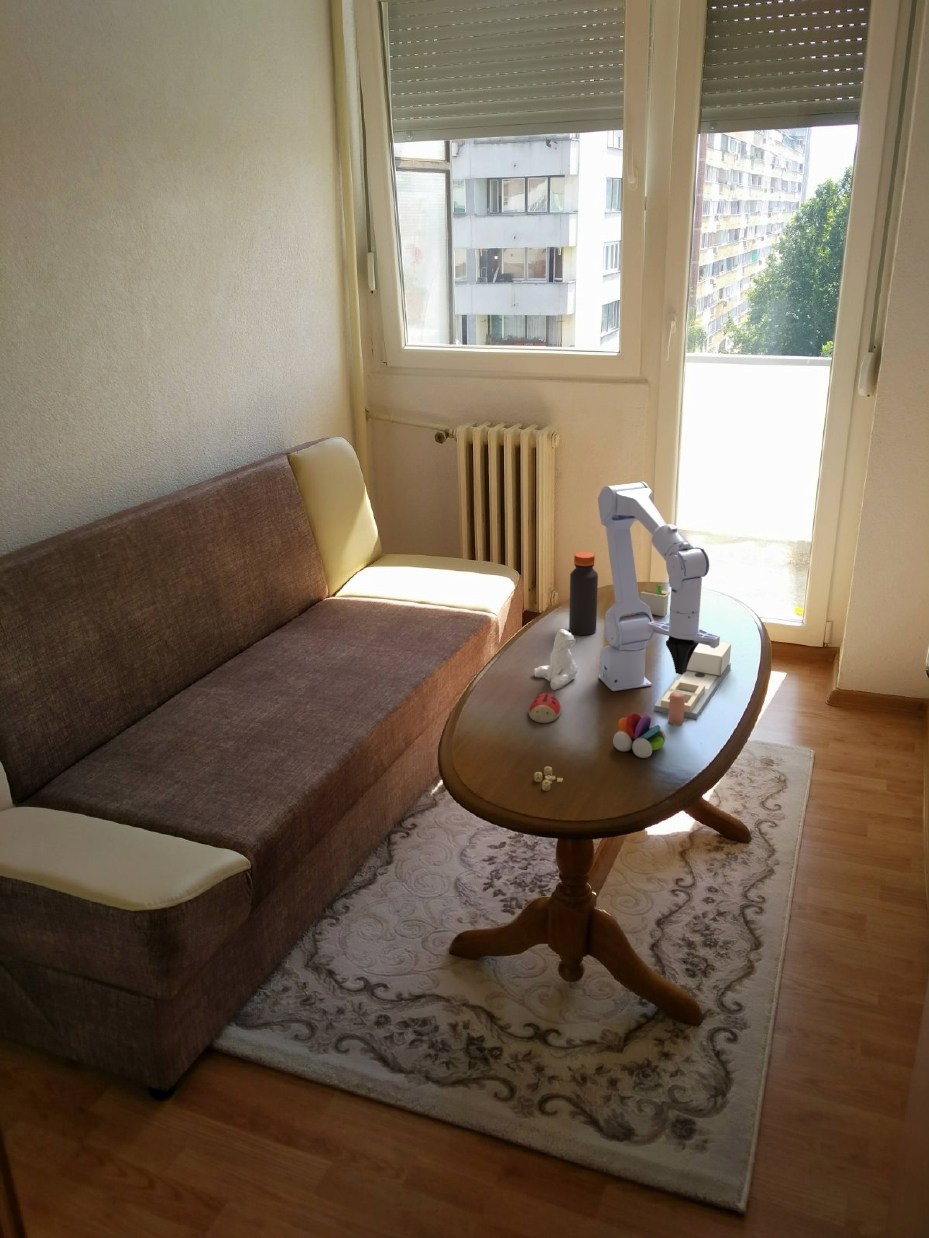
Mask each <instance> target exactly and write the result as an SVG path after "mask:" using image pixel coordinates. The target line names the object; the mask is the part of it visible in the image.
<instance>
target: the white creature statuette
mask: <svg viewBox="0 0 929 1238" xmlns="http://www.w3.org/2000/svg"><path fill="white" fill-rule="evenodd" d="M574 644H576V638H575V636H574V635H573V633H571V632H569V630H566V629H564V628H561V629H559V630H558V631H557V632H556V635H555V637H554V644H553V645H552V648H553V649H552V652H551V653H550V654H549V656H550V661H549V662H550V663H549V665H548V664H547V665H539V666H538V667H535V668H534V669H533V670H534V672H533V673H534V677H535V678H538V679H539V678H543V679H545V680H547V681H548V682H550V688H551V690H554V691H557V690H561V689H562V688H563V687H564V686H566V685H568V684H569V683H571V681H573V680H574V679H575V678H576V675H577V674H578V670H579V668H578V667H577V664H576V661H575V660H574V658H573V654H572V652H571V650H570V648H572V646H573V645H574Z"/></svg>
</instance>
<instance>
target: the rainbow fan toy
mask: <svg viewBox="0 0 929 1238" xmlns="http://www.w3.org/2000/svg"><path fill="white" fill-rule="evenodd" d="M651 723H652V720H651V716H649V715H643V716H641V715H640V714H639V713H638V712H631V713H629V714H628V715H627V717H622V718H620V719H619V720H618V722H617V727H618V731H617V732H616V733H615V734H614V736H613V739H612V742H613V746H614V748H615V749H617V750H618V751H620V752H628V751H630V750H631V749H632V752H633V753H634V755H635V756H636V757H638V758H641V759H647V758H649V757H651V755H652V754H653V751H656V750H659V749H661V748H663V746H665V745H664V744H665V742H666V740H667V737H666V732H665V731H664V730H663V729H662V728H661V726H660V725H659V724H657V725H655V726H652V727H651Z"/></svg>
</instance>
